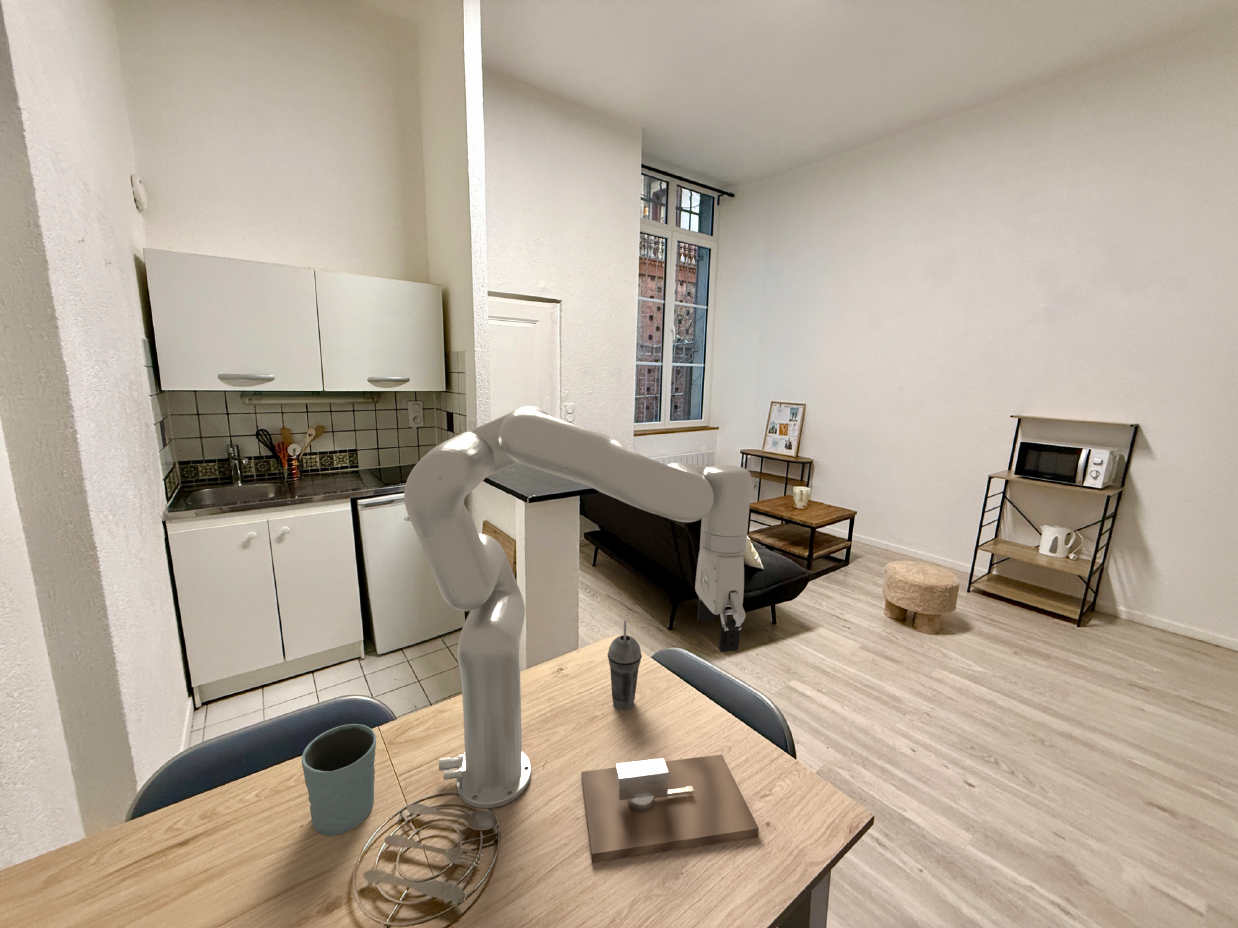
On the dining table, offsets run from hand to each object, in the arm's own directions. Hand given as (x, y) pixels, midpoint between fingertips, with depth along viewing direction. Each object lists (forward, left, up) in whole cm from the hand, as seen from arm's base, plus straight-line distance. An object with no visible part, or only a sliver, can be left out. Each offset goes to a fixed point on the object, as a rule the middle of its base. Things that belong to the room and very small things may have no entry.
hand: (716, 634), depth 84 cm
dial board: (-10, -7, -26) cm, 29 cm away
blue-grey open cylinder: (-61, 0, -27) cm, 67 cm away
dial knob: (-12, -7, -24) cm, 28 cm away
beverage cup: (-12, +19, -27) cm, 35 cm away
